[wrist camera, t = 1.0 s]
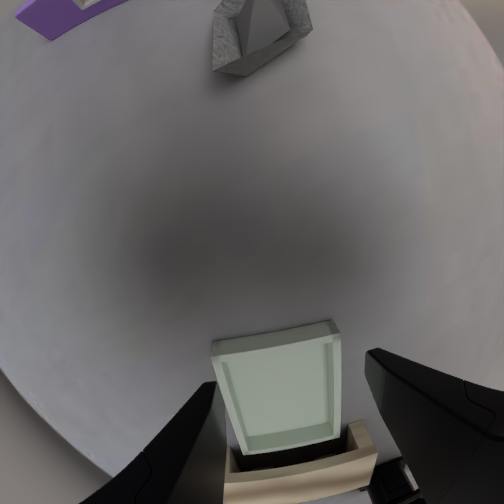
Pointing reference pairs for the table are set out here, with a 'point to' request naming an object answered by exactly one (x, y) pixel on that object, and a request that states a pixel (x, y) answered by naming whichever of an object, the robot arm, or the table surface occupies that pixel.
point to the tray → (282, 386)
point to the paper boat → (255, 32)
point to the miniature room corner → (60, 14)
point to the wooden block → (304, 475)
